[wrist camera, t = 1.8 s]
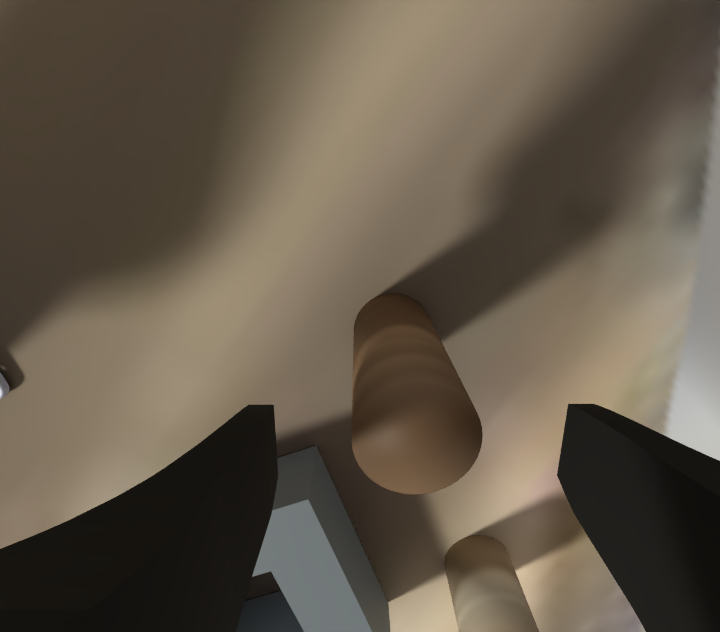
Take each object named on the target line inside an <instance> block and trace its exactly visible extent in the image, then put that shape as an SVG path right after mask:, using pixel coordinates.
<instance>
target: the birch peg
mask: <svg viewBox="0 0 720 632" xmlns="http://www.w3.org/2000/svg"><path fill="white" fill-rule="evenodd" d="M444 565H445V570H446V575H447V579H448V584H449V588H450V593H451V597H452V602H453V606H454V611H455V615H456V620H457V624H458V629H459V632H539V630H538V628H537V625H536V623H535V620H534V618H533V615H532V613H531V610H530V608H529V605H528V603H527V600H526V598H525V595H524V593H523V590H522V587H521V585H520V582H519V580H518V577H517V575H516V572H515V570H514V567H513V565H512V562H511V560H510V557H509V555H508V552H507V550H506V548H505V547H504V545H503V544H502V543H500V542H499V541H498V540H496V539H494V538H491V537H488V536H481V535H479V536H470V537H466V538H464V539H462V540H459V541H458V542H456V543H455V544H454V545H453V546H452V547H451V548H450V549H449V550H448V552H447V554H446V556H445V560H444Z"/></svg>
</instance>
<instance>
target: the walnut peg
mask: <svg viewBox="0 0 720 632" xmlns="http://www.w3.org/2000/svg"><path fill="white" fill-rule="evenodd" d="M481 444H482V426H481V422H480V419H479V416H478V414H477V412H476V410H475V408H474V406H473V404H472V402H471V400H470V398H469V396H468V394H467V392H466V390H465V388H464V386H463V384H462V382H461V380H460V378H459V376H458V374H457V372H456V370H455V368H454V366H453V364H452V362H451V360H450V358H449V356H448V354H447V352H446V350H445V348H444V346H443V344H442V342H441V340H440V338H439V336H438V334H437V332H436V330H435V328H434V326H433V324H432V322H431V320H430V318H429V316H428V314H427V312H426V311H425V309H424V308H423V307H422V305H420V304H419V303H418V302H417V301H416V300H414V299H412V298H411V297H408V296H406V295H402V294H385V295H381V296H378V297H376V298H374V299H372V300H371V301H369V302H368V303H367V304H366V305H365V306H364V307H363V308H362V309H361V310H360V312H359V314H358V315H357V318H356V321H355V324H354V350H353V398H352V448H353V453H354V456H355V459H356V461H357V463H358V465H359V467H360V468H361V469H362V471H363V472H364V473H365V474H366V475H367V476H368V477H369V478H370V479H371V480H372V481H374V482H375V483H377V484H378V485H380V486H381V487H384V488H386V489H388V490H391V491H394V492H398V493H403V494H425V493H431V492H435V491H438V490H441V489H443V488H446V487H448V486H450V485H451V484H453V483H455V482H456V481H458V480H459V479H460V478H461V477H463V476H464V475H465V474H466V473H467V472H468V471H469V469H470V468H471V467H472V465H473V464H474V462H475V460H476V459H477V457H478V454H479V452H480V448H481Z"/></svg>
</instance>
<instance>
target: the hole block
mask: <svg viewBox="0 0 720 632" xmlns="http://www.w3.org/2000/svg"><path fill="white" fill-rule="evenodd" d="M277 464H278V481H277V487H276V492H275V498H274V504H273V509H272V514H271V517H270V521H269V524H268V527H267V531H266V534H265V537H264V540H263V544H262V547H261V550H260V553H259V556H258V559H257V563H256V566H255V569H254V572H253V575H252V577H253V576H257V575H260V574H263V573H267V572H270V571H271V572H272V574H273V576H274V578H275V580H276V581H277V583H278V585H279V587H280V589H281V591H278V592H275V593H271V594H268V595H264V596H261V597H258V598H254V599H251V600H247V601H244V604H243V607H242V611H241V615H240V619H239V622H238V626H237V630H236V632H390V620H389V606H388V601H387V599H386V597H385V595H384V593H383V590H382V588H381V586H380V584H379V582H378V580H377V577H376V575H375V573H374V571H373V569H372V566H371V564H370V562H369V560H368V558H367V556H366V553H365V551H364V549H363V547H362V545H361V542H360V540H359V538H358V536H357V534H356V531H355V529H354V527H353V525H352V523H351V521H350V518H349V516H348V514H347V512H346V510H345V507H344V505H343V503H342V501H341V499H340V496H339V494H338V492H337V490H336V488H335V486H334V483H333V481H332V479H331V477H330V475H329V472H328V470H327V468H326V466H325V464H324V462H323V459H322V457H321V455H320V453H319V451H318V448H317V446H313V447H310V448H307V449H304V450H301V451H298V452H295V453H292V454H289V455H286V456H282V457H279V458H277Z"/></svg>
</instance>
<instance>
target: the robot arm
mask: <svg viewBox="0 0 720 632" xmlns="http://www.w3.org/2000/svg"><path fill="white" fill-rule="evenodd" d="M8 393H9V385H8V383H7V382H6V380H5V379H4V377H3V376H2V374H1V373H0V399H1V398H3V397H5V396H6V395H8ZM557 476H558V478H559V481H560V483H561V485H562V488H563V490H564V492H565V495H566V497H567V499H568V501H569V503H570V506H571V508H572V510H573V512H574V514H575V516H576V517H577V519H578V521H579V522H580V524H581V526H582V527H583V529H584V530H585V532H586V534H587V535H588V537H589V539H590V540H591V542H592V543H593V545H594V547H595V548H596V550H597V551H598V553H599V555H600V556H601V558H602V559H603V561H604V563H605V564H606V566H607V567H608V569H609V571H610V572H611V574H612V575H613V577H614V579H615V580H616V582H617V583H618V585H619V587H620V588H621V590H622V591H623V593H624V595H625V596H626V598H627V599H628V601H629V603H630V604H631V606H632V608H633V609H634V611H635V613H636V615H637V616H638V618H639V620H640V622H641V623H642V625H643V627H644V629H645V631H646V632H720V461H719V460H716V459H714V458H712V457H709V456H707V455H705V454H703V453H700V452H698V451H696V450H694V449H692V448H689V447H687V446H685V445H683V444H681V443H679V442H676V441H674V440H672V439H670V438H668V437H666V436H664V435H662V434H660V433H658V432H656V431H654V430H652V429H649V428H647V427H645V426H643V425H641V424H639V423H637V422H635V421H633V420H631V419H628V418H626V417H624V416H622V415H620V414H618V413H615V412H613V411H611V410H608V409H606V408H603V407H601V406H598V405H595V404H568V409H567V416H566V422H565V428H564V435H563V441H562V448H561V454H560V460H559V467H558V473H557ZM277 481H278V464H277V449H276V434H275V419H274V405H248V406H246V407H245V408H244V409H242V410H241V411H240V412H238V413H237V414H236V415H235V416H233V417H232V418H231V419H230V420H228V421H227V422H226V423H225V424H223V425H222V426H221V427H220V428H218V429H217V430H216V431H215V432H213V433H212V434H211V435H210V436H208V437H207V438H206V439H204V440H203V441H202V442H201V443H199V444H198V445H197V446H195V447H194V448H192V449H191V450H190V451H188V452H187V453H185V454H184V455H182V456H181V457H180V458H178V459H177V460H175V461H174V462H173V463H171V464H170V465H168V466H167V467H165V468H164V469H162V470H161V471H159V472H158V473H156V474H155V475H153V476H151V477H150V478H148V479H147V480H145V481H143V482H141V483H140V484H138V485H136V486H135V487H133V488H131V489H129V490H128V491H126V492H124V493H122V494H121V495H119V496H117V497H115V498H113V499H111V500H109V501H107V502H105V503H103V504H101V505H99V506H97V507H95V508H93V509H91V510H89V511H87V512H85V513H83V514H81V515H79V516H77V517H75V518H73V519H71V520H69V521H66V522H64V523H62V524H60V525H58V526H55V527H53V528H51V529H48V530H46V531H44V532H41V533H39V534H37V535H34V536H32V537H29V538H27V539H24V540H22V541H19V542H17V543H14V544H12V545H9V546H7V547H4V548H2V549H0V632H236V630H237V626H238V622H239V619H240V615H241V611H242V607H243V604H244V601H245V598H246V594H247V591H248V588H249V585H250V582H251V578H252V575H253V572H254V569H255V566H256V563H257V559H258V556H259V553H260V550H261V547H262V544H263V540H264V537H265V534H266V531H267V527H268V524H269V521H270V517H271V514H272V509H273V504H274V498H275V492H276V487H277Z"/></svg>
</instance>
